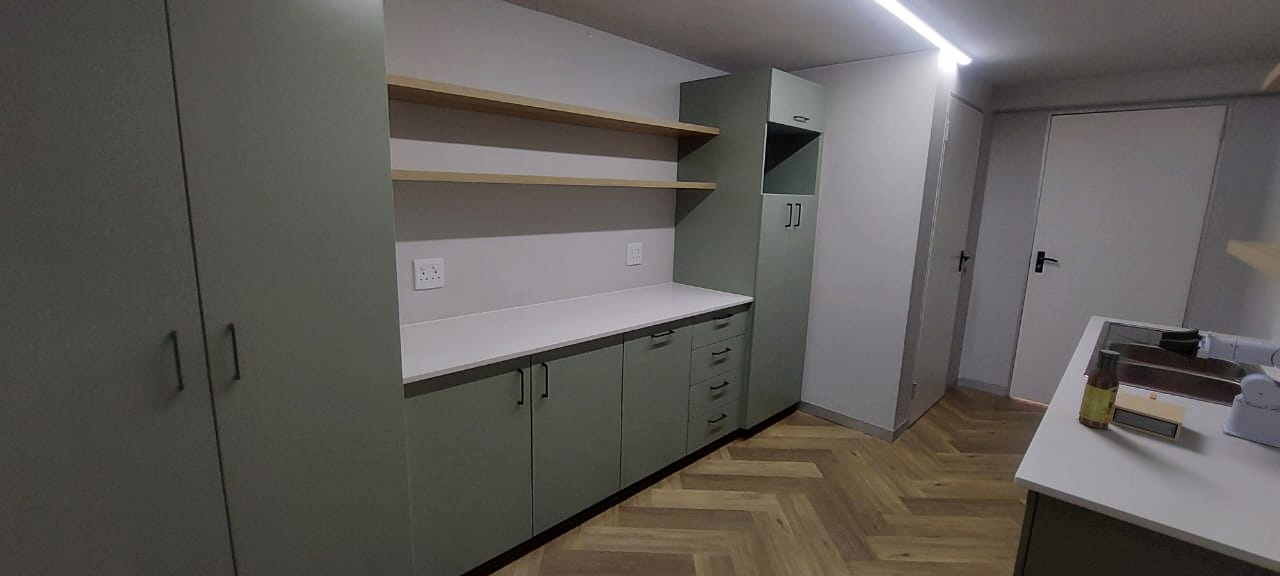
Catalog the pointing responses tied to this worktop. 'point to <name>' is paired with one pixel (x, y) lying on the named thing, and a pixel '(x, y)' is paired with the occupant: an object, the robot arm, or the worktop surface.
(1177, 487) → the worktop surface
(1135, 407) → the sleeve
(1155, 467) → the worktop surface
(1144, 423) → the tray
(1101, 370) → the sauce bottle
